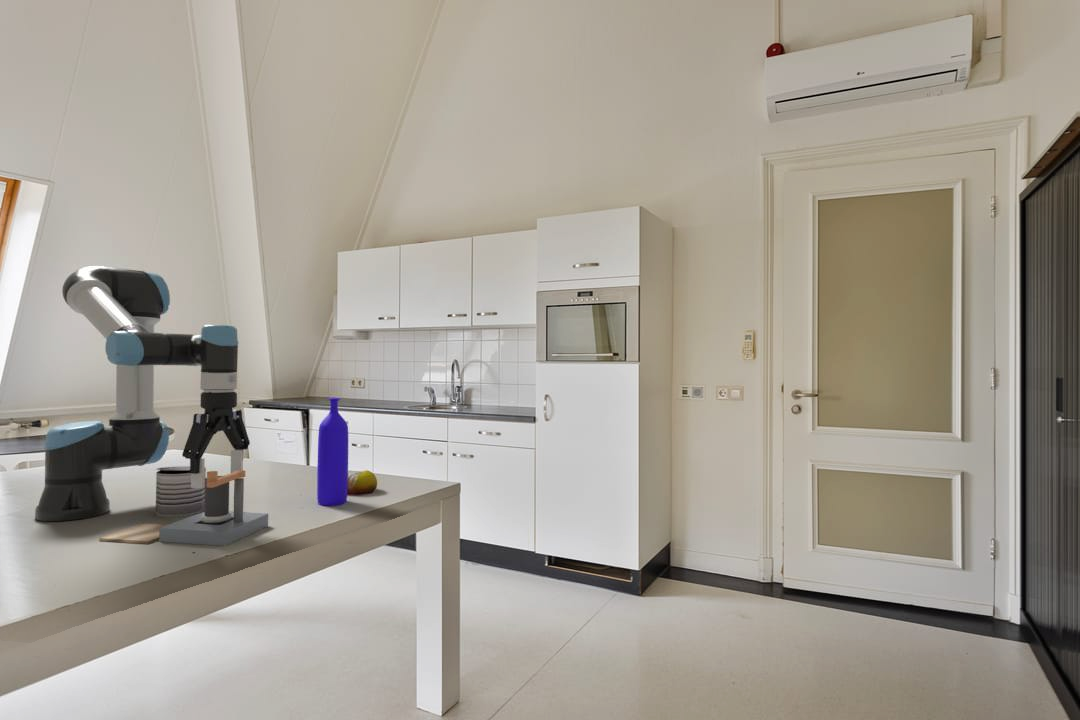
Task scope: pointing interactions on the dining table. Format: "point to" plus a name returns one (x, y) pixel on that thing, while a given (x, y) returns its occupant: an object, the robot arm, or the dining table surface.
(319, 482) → the bottle
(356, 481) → the fruit
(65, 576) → the dining table surface
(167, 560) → the dining table surface
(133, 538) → the coaster
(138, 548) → the dining table surface
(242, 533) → the socket
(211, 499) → the plug
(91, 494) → the robot arm
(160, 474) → the can
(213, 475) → the ball-ended peach stick
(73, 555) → the dining table surface
